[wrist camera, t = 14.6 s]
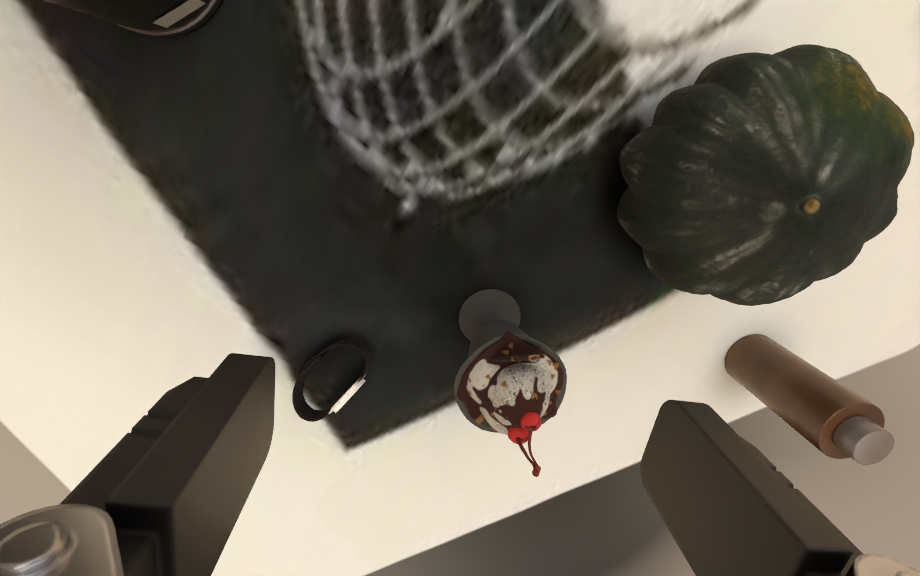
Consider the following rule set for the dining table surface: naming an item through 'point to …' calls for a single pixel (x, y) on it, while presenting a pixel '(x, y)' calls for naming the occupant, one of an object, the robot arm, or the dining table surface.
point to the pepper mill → (810, 401)
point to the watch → (316, 415)
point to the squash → (764, 174)
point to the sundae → (506, 371)
